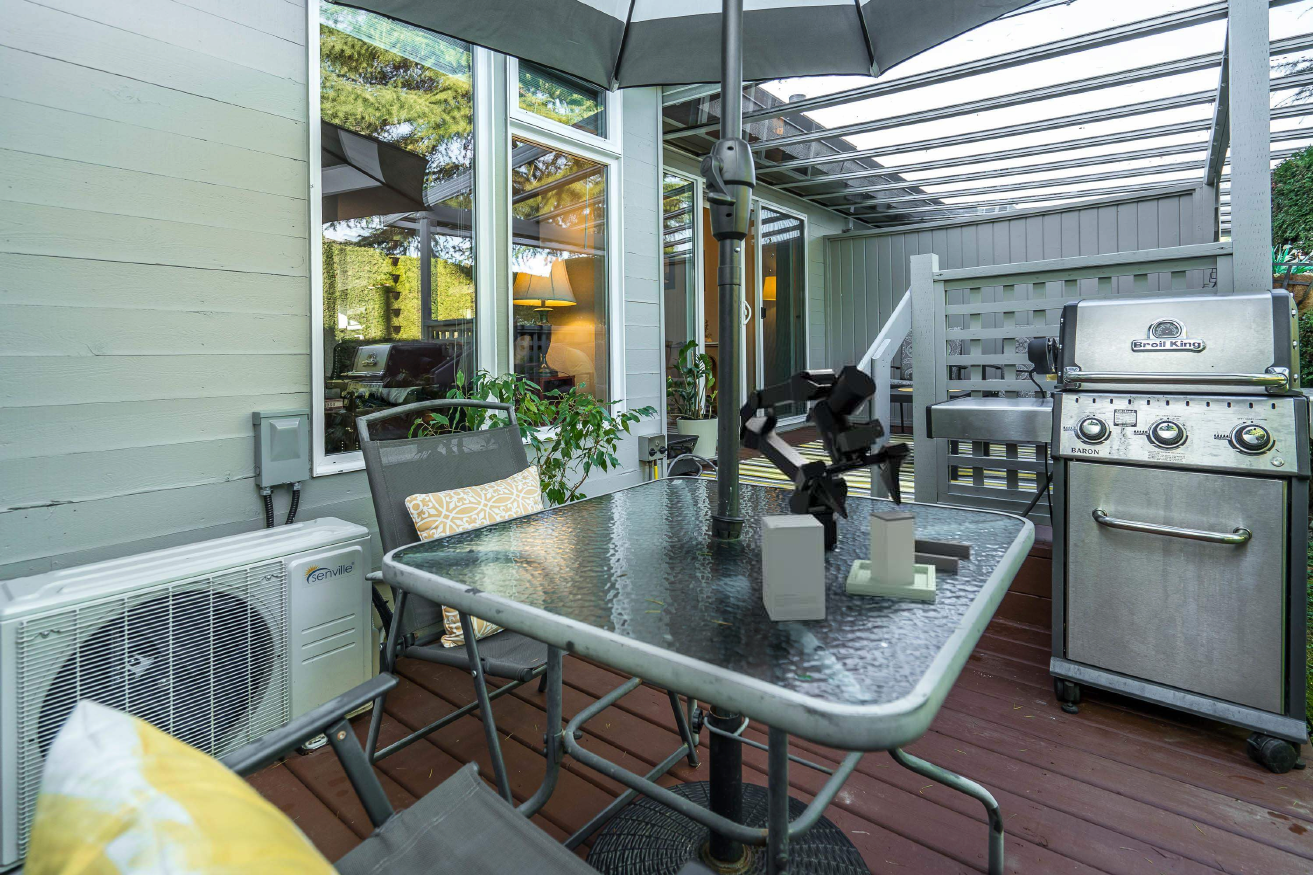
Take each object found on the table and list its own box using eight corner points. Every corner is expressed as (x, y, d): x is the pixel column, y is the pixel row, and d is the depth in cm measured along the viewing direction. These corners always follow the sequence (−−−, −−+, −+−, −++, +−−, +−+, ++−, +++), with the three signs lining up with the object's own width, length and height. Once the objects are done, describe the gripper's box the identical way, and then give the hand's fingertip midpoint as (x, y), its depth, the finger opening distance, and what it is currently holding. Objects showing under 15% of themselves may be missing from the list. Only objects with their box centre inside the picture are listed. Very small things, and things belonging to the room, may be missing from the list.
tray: (846, 592, 96) (846, 582, 96) (854, 568, 107) (854, 559, 107) (935, 600, 91) (935, 590, 91) (934, 574, 102) (935, 565, 102)
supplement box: (826, 620, 86) (825, 525, 85) (770, 621, 87) (767, 527, 85) (814, 600, 94) (813, 513, 92) (762, 602, 94) (760, 515, 93)
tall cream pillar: (870, 577, 101) (870, 512, 100) (896, 573, 102) (896, 510, 101) (887, 586, 96) (887, 519, 95) (914, 582, 98) (914, 516, 97)
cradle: (892, 563, 109) (892, 551, 109) (908, 548, 117) (908, 537, 117) (957, 571, 103) (957, 559, 103) (970, 555, 111) (970, 544, 111)
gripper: (793, 419, 106) (830, 506, 99) (901, 393, 108) (944, 477, 101) (782, 451, 116) (815, 532, 108) (881, 427, 118) (919, 505, 111)
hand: (873, 511), depth 107 cm, fingers open, 9 cm apart
